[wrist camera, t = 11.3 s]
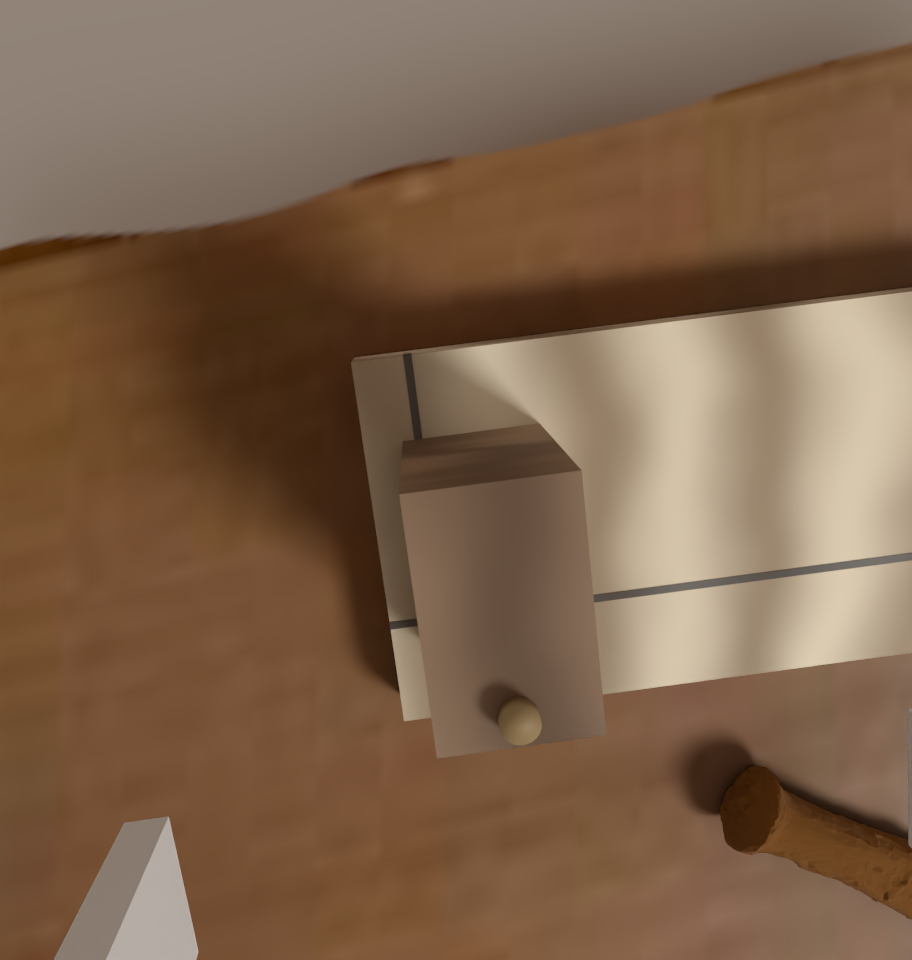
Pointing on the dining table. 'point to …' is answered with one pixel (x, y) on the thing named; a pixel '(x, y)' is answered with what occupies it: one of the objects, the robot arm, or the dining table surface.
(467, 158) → the dining table surface
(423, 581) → the beige drawer
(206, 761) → the dining table surface
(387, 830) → the dining table surface
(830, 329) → the board
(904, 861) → the primitive tool
